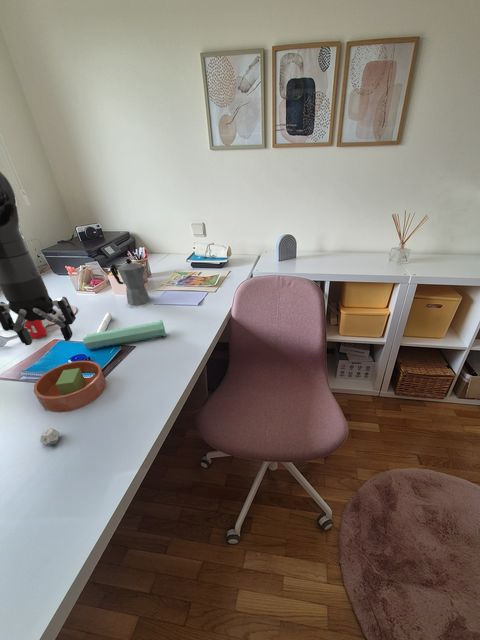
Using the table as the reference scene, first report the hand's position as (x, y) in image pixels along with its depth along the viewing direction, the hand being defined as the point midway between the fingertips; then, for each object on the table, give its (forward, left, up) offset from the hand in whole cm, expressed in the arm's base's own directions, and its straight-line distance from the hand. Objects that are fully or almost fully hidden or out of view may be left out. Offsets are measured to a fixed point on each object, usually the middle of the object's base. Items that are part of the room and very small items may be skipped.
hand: (49, 341), depth 72 cm
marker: (+1, +35, -16) cm, 39 cm away
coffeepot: (+10, +56, -16) cm, 59 cm away
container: (+11, +22, -16) cm, 29 cm away
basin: (+1, -1, -15) cm, 15 cm away
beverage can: (-20, +34, -16) cm, 43 cm away
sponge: (+1, -1, -15) cm, 15 cm away
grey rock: (+1, -18, -16) cm, 24 cm away
